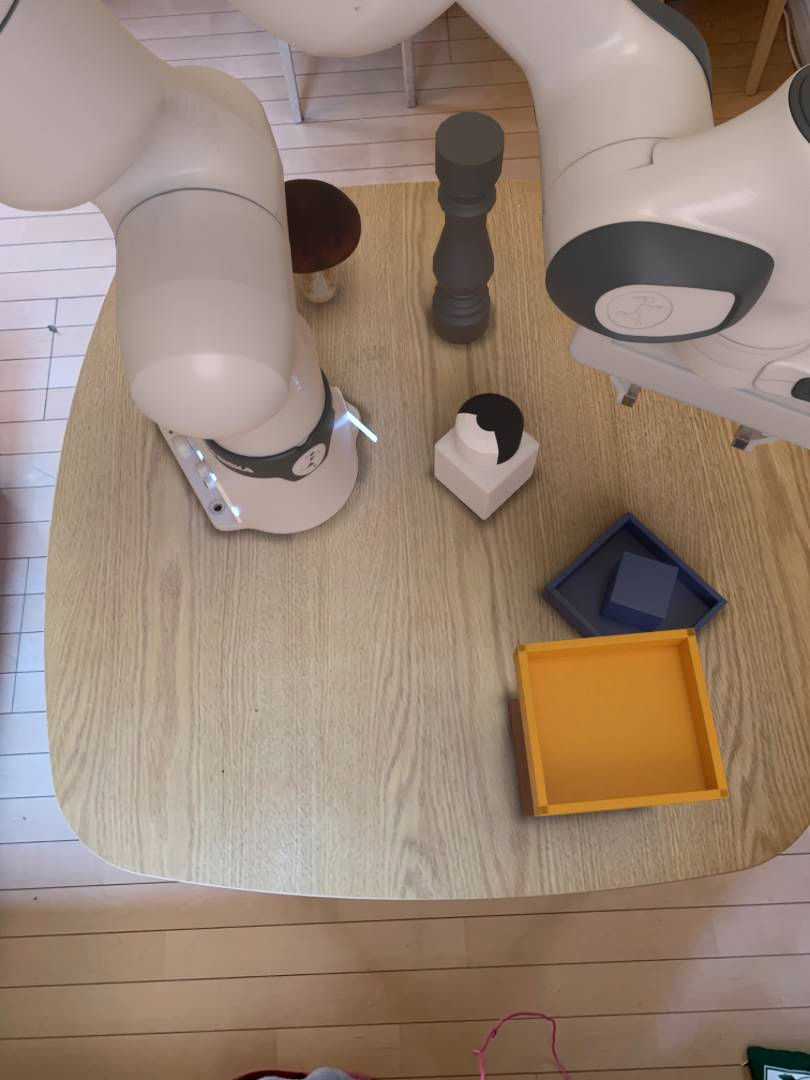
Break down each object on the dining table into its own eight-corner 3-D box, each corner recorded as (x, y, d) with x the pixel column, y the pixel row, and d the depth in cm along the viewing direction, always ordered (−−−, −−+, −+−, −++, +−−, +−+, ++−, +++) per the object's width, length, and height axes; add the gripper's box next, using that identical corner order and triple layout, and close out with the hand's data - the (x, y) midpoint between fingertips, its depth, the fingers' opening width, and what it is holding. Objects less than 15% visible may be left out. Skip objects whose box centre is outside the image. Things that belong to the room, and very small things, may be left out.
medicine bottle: (481, 431, 87) (488, 368, 76) (533, 475, 85) (548, 418, 74) (432, 475, 86) (432, 419, 75) (484, 522, 84) (491, 471, 73)
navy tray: (541, 596, 81) (545, 586, 78) (622, 522, 83) (629, 510, 81) (636, 690, 78) (644, 684, 75) (718, 610, 80) (728, 601, 77)
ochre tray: (511, 824, 74) (540, 815, 54) (495, 696, 78) (517, 644, 58) (650, 811, 74) (729, 797, 54) (628, 684, 78) (694, 627, 58)
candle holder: (453, 286, 94) (459, 97, 70) (500, 314, 92) (523, 130, 69) (420, 326, 92) (416, 146, 68) (467, 354, 91) (480, 180, 67)
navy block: (599, 615, 80) (609, 600, 75) (613, 567, 81) (624, 550, 77) (651, 632, 79) (665, 618, 74) (664, 584, 81) (678, 567, 76)
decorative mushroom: (356, 244, 96) (343, 140, 82) (380, 323, 92) (370, 228, 78) (261, 266, 95) (232, 165, 81) (282, 347, 92) (254, 256, 77)
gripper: (571, 297, 54) (544, 404, 67) (891, 413, 51) (798, 502, 64) (606, 224, 56) (573, 341, 69) (917, 331, 53) (821, 434, 66)
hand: (683, 419), depth 66 cm, fingers open, 8 cm apart
